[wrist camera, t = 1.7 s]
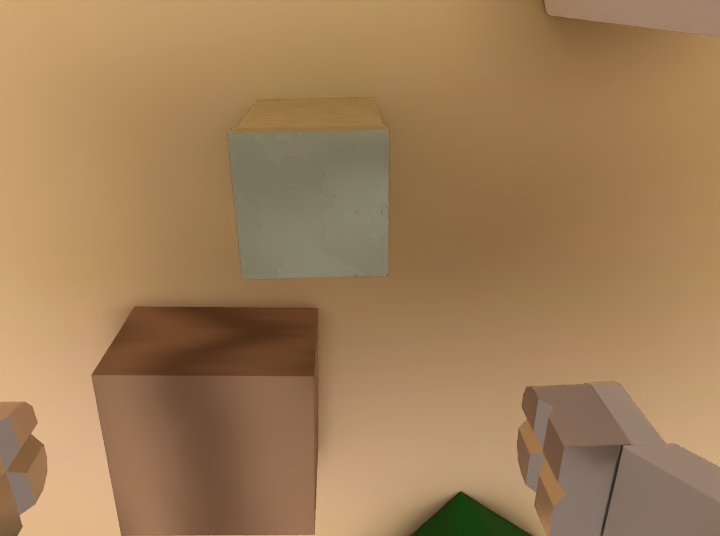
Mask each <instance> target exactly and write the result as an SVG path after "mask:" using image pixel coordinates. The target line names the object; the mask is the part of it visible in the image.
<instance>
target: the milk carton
mask: <svg viewBox="0 0 720 536" xmlns="http://www.w3.org/2000/svg"><path fill="white" fill-rule="evenodd" d="M544 4H545V9H546V12H547V14H548V15H550V16H558V17H566V18H573V19H581V20H589V21H597V22H605V23H613V24H621V25H628V26H636V27H644V28H652V29H660V30H668V31H676V32H684V33H691V34H699V35H707V36H715V37H720V0H544Z"/></svg>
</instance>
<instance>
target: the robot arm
mask: <svg viewBox="0 0 720 536" xmlns="http://www.w3.org/2000/svg"><path fill="white" fill-rule="evenodd" d="M522 409H523V411H524V413H525V415H526V417H527V420H526V421H525V422H524V423H523V424H522V425H521V426H520V427H519V430H518V440H517V450H518V461H519V466H520V470H521V473H522V476H523V479H524V481H525V484H526V485H527V486H528V487H530V488H531V489H533V490H534V491H535V492H536V498H535V505H534V506H535V508H536V511H537V513H538V515H539V518H540V520H541V523H542V525H543V527H544V530H545V532H546V534H547V536H720V467H718V466H717V465H715V464H713V463H711V462H709V461H707V460H705V459H703V458H701V457H700V456H698V455H696V454H694V453H692V452H690V451H688V450H686V449H684V448H683V447H681V446H679V445H677V444H666V443H665V442H664V440H663V439H662V438H661V436H660V435H659V434H658V432H657V431H656V430H655V429H654V427H653V426H652V425H651V423H650V422H649V421H648V419H647V418H646V417H645V416H644V414H643V413H642V412H641V410H640V409H639V408H638V406H637V405H636V404H635V403H634V401H633V400H632V399H631V397H630V396H629V395H628V393H627V392H626V391H625V390H624V388H623V387H622V386H621V385H620V384H619V383H617V382H615V381H612V382H596V383H585V384H574V385H550V386H527V387H526V389H525V392H524V394H523V401H522ZM37 423H38V422H37V419H36V416H35V413H34V410H33V407H32V406H31V405H30V404H28V403H26V402H0V536H18V534H19V532H20V530H21V529H22V527H23V526H22V523H21V520H20V516H19V515H21V514H22V513H23V512H25V511H26V510H28V509H29V508H30V507H32V506H33V505H35V504H36V502H37V500H38V498H39V496H40V495H41V493H42V491H43V488H44V484H45V480H46V475H47V456H46V452H45V448H44V445H43V444H42V443H41V442H40V441H39V440H38V439H36V438H35V437H34V436H33V435H32V434H31V433H32V431H33V430H34V428H35V426H36V425H37Z"/></svg>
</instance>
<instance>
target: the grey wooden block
mask: <svg viewBox="0 0 720 536" xmlns="http://www.w3.org/2000/svg"><path fill="white" fill-rule="evenodd" d="M227 139H228V148H229V158H230V167H231V177H232V186H233V196H234V205H235V215H236V224H237V234H238V243H239V253H240V262H241V272H242V280H249V279H286V278H323V277H361V276H388V210H389V129H388V126H387V125H383V123H382V120H381V117H380V114H379V111H378V108H377V105H376V103H375V100H374V97H373V98H321V99H269V100H256V102H255V103H254V104H253V106H252V107H251V109H250V110H249V111H248V113H247V114H246V116H245V117H244V118H243V120H242V121H241V123H240V124H239V125H238V127H237V128H231V129H230V130H229V132H228V133H227Z"/></svg>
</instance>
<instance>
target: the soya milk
mask: <svg viewBox="0 0 720 536" xmlns="http://www.w3.org/2000/svg"><path fill="white" fill-rule="evenodd" d="M412 536H531V535H529V534H528V533H526V532H524V531H523V530H521V529H520V528H518V527H516V526H515V525H513V524H512V523H510V522H508V521H507V520H505V519H503V518H502V517H500V516H499V515H497V514H495V513H494V512H492V511H491V510H489V509H487V508H486V507H484V506H482V505H481V504H479V503H478V502H476V501H474V500H473V499H471V498H470V497H468V496H466V495H465V494H463V493H462V492H460V493H459V494H458V495H457V496H456V497H455V498H454V499H452V500H451V501H450V502H449V503H448V504H447V505H446V506H445V507H443V508H442V509H441V510H440V511H439V512H438V513H437V514H436V515H434V516H433V517H432V518H431V519H430V520H429V521H428V522H427V523H425V524H424V525H423V526H422V527H421V528H420V529H419V530H418V531H416V532H415V533H414V534H413V535H412Z"/></svg>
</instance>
